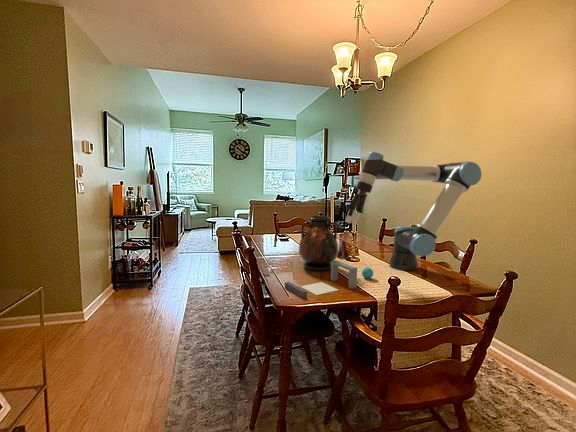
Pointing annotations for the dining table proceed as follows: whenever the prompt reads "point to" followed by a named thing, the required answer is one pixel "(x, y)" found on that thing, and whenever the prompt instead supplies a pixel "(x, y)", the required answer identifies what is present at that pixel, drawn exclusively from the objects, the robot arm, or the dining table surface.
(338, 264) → the bridge
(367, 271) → the ball
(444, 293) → the dining table surface
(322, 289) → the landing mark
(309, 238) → the amphora vase
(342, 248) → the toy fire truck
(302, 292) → the stopper
